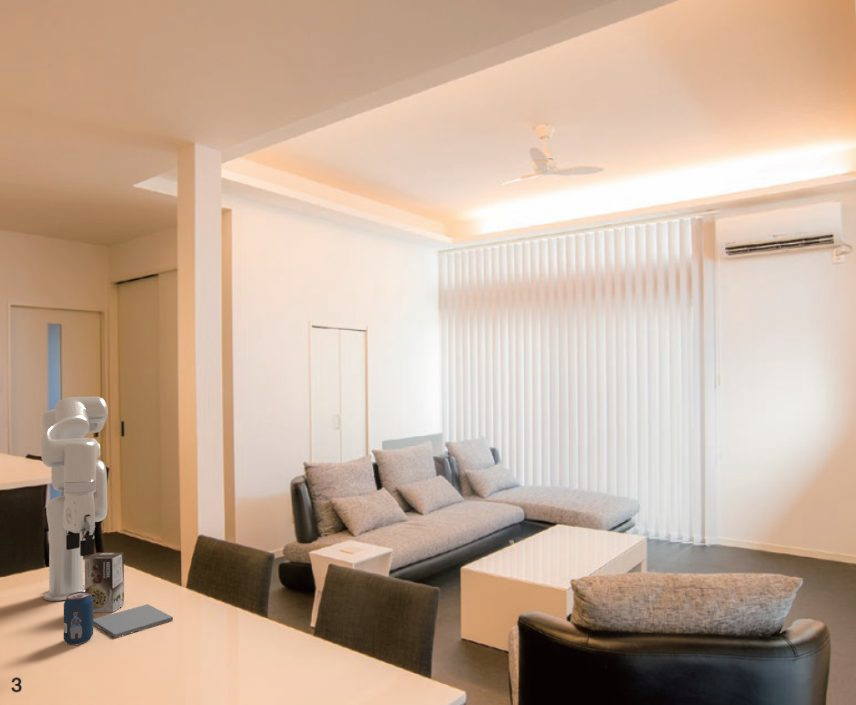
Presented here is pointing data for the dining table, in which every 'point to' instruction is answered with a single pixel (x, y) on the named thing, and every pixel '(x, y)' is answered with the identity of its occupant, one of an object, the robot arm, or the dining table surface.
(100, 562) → the coffee box
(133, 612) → the mat
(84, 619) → the soda can
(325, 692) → the dining table surface
